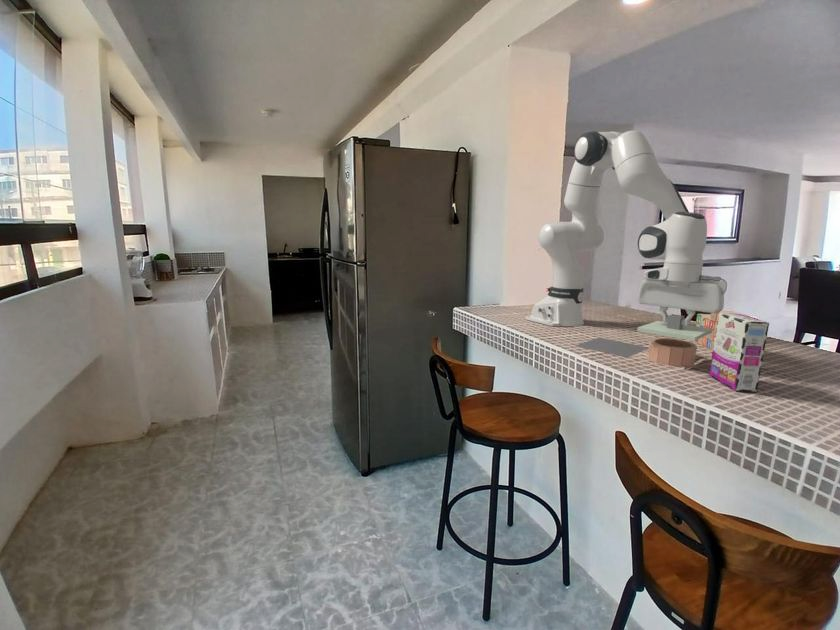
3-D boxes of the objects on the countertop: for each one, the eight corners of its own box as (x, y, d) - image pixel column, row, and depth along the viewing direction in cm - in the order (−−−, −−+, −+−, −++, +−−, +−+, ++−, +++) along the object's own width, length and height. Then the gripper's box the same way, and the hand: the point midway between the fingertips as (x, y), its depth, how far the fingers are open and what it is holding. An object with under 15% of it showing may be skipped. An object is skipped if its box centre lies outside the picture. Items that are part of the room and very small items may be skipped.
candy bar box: (758, 392, 96) (771, 322, 93) (735, 391, 97) (746, 321, 94) (728, 376, 107) (739, 312, 104) (707, 375, 108) (717, 312, 104)
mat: (574, 347, 132) (574, 345, 132) (599, 339, 143) (599, 337, 142) (626, 359, 120) (626, 357, 120) (649, 349, 131) (649, 347, 131)
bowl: (641, 361, 119) (643, 342, 118) (656, 354, 126) (659, 336, 125) (685, 371, 111) (688, 351, 110) (699, 362, 118) (701, 343, 117)
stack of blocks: (693, 340, 143) (698, 304, 140) (713, 341, 141) (719, 305, 139) (725, 359, 122) (731, 317, 120) (749, 360, 121) (756, 318, 118)
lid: (637, 330, 117) (639, 314, 116) (657, 324, 126) (658, 309, 125) (694, 340, 107) (697, 323, 106) (711, 332, 116) (714, 316, 115)
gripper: (731, 276, 108) (723, 329, 110) (647, 270, 123) (641, 317, 126) (724, 278, 104) (716, 333, 106) (637, 271, 119) (632, 320, 121)
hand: (675, 324), depth 116 cm, fingers closed on lid, 3 cm apart
